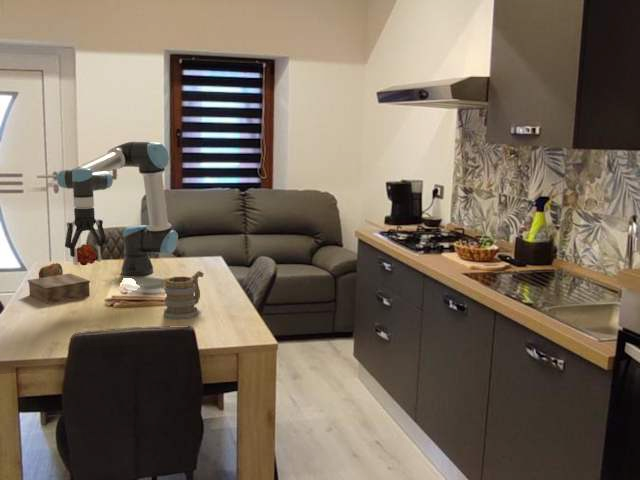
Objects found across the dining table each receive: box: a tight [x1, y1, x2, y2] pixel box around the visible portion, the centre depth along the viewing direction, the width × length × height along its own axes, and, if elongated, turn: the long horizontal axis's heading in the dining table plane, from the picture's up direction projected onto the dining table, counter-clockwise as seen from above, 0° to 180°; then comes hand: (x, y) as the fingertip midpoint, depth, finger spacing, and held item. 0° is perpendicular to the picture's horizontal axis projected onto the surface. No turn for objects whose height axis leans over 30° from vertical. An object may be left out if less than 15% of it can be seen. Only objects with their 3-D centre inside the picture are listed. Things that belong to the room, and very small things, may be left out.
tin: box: [38, 262, 64, 278], centre depth 299 cm, size 15×3×8 cm, turn 168°
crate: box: [27, 273, 91, 305], centre depth 277 cm, size 19×19×7 cm
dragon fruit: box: [76, 243, 98, 266], centre depth 262 cm, size 8×8×12 cm
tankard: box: [163, 270, 204, 320], centre depth 255 cm, size 20×13×15 cm, turn 148°
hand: (87, 262), depth 263 cm, fingers closed on dragon fruit, 9 cm apart
